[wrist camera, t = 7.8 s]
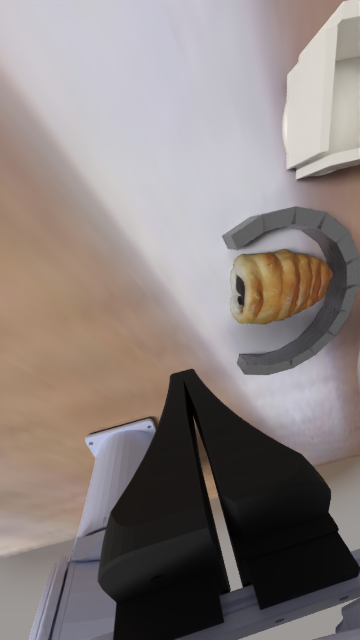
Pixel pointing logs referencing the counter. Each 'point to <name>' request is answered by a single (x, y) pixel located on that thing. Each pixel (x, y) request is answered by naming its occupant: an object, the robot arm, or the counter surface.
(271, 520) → the robot arm
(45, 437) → the counter surface
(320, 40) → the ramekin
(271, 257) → the pastry
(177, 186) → the counter surface
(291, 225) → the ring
